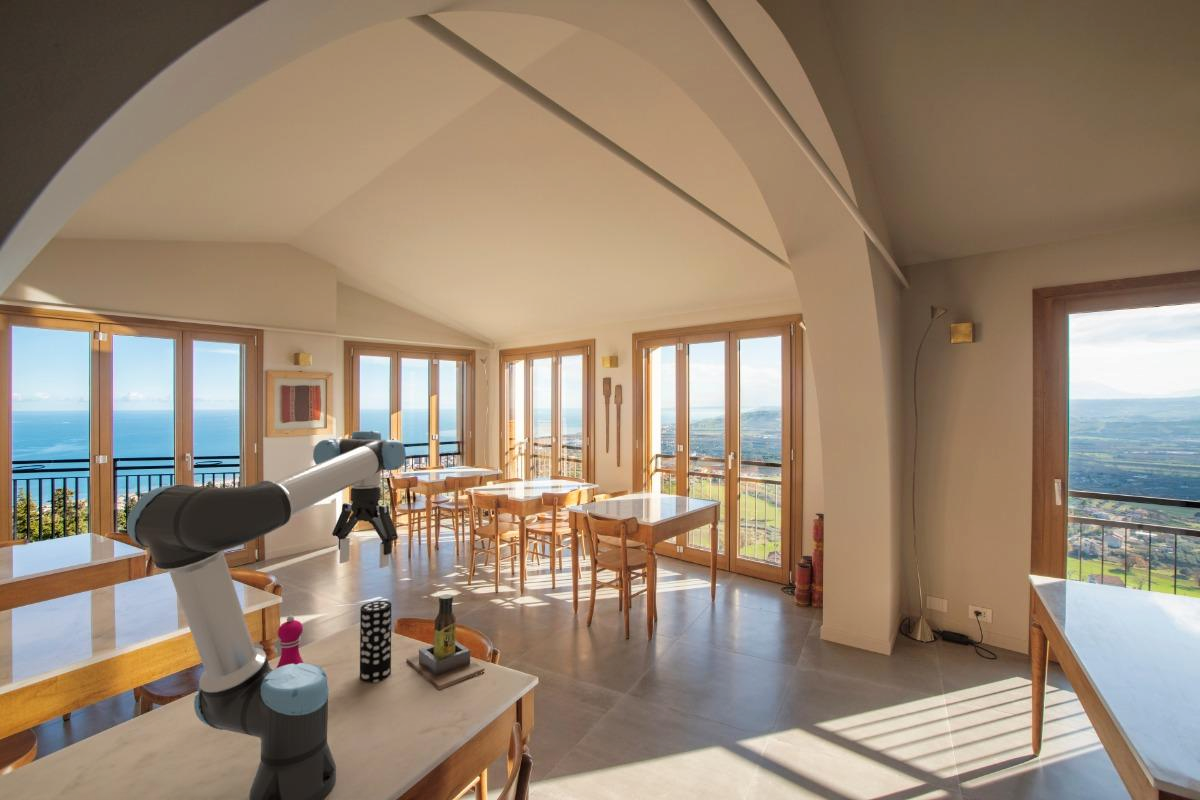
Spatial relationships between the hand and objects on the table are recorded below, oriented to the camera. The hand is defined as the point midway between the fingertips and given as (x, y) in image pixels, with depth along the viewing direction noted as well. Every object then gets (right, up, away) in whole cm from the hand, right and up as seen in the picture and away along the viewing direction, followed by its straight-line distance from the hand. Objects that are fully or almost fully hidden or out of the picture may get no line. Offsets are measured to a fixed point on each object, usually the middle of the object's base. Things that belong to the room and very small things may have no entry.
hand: (363, 564), depth 143 cm
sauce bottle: (+18, -34, +13) cm, 41 cm away
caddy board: (+18, -35, +13) cm, 42 cm away
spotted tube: (0, -35, +8) cm, 36 cm away
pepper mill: (-21, -35, +1) cm, 41 cm away
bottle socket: (+18, -35, +13) cm, 42 cm away
